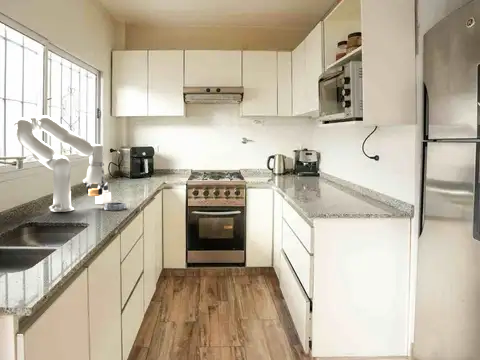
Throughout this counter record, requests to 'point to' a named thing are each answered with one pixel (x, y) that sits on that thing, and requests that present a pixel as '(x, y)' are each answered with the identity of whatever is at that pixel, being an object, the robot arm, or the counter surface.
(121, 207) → the faceted metal bowl
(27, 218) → the counter surface
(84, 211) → the counter surface
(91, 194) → the pale yellow rounded lump
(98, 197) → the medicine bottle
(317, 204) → the counter surface
